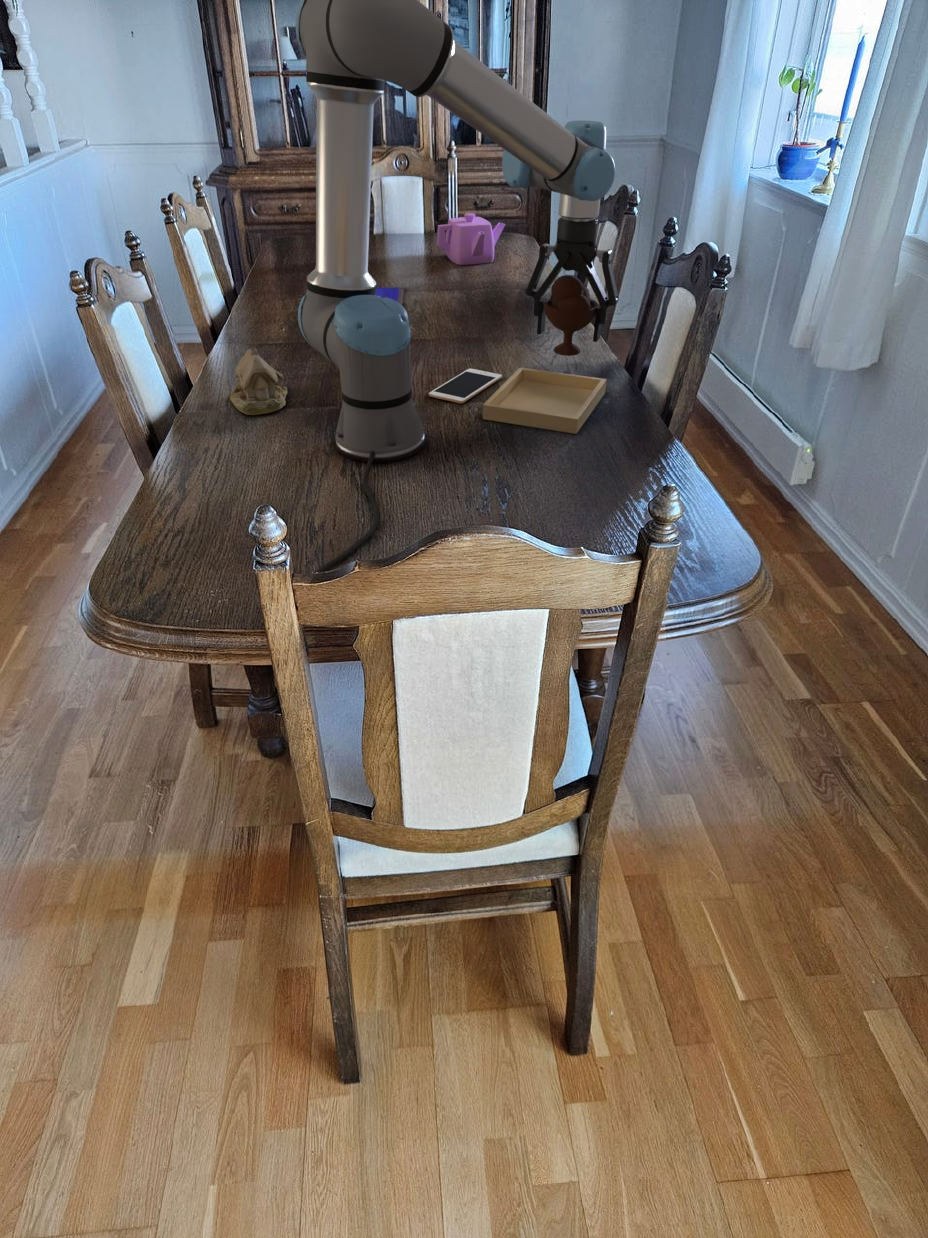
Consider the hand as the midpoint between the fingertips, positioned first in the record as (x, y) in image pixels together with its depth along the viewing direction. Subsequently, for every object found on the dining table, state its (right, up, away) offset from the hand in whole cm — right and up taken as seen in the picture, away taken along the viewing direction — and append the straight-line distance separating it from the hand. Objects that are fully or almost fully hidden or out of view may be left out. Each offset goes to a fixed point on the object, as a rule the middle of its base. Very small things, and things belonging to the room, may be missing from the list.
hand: (568, 336), depth 167 cm
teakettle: (-19, +51, +80) cm, 97 cm away
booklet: (-44, +23, +43) cm, 65 cm away
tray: (-6, -17, -11) cm, 21 cm away
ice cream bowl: (0, -3, +2) cm, 3 cm away
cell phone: (-21, -11, -3) cm, 24 cm away
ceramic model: (-60, -16, -8) cm, 63 cm away
